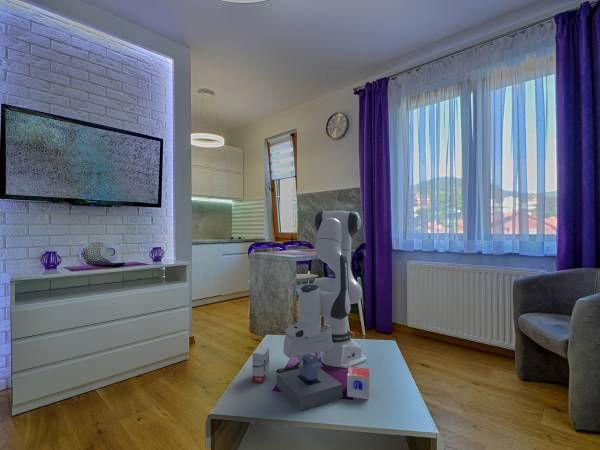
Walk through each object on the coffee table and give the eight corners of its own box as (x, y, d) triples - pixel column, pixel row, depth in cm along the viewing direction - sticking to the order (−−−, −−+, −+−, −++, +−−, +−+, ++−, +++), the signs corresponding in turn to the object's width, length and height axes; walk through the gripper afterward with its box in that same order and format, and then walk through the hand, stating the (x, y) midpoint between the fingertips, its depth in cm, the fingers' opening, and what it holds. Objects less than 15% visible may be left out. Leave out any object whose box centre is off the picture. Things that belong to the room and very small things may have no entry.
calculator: (276, 371, 138) (276, 364, 138) (301, 367, 142) (301, 360, 142) (283, 380, 129) (283, 373, 129) (309, 376, 133) (309, 369, 133)
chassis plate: (315, 376, 132) (315, 364, 132) (342, 398, 116) (342, 384, 116) (276, 386, 124) (276, 373, 124) (299, 411, 107) (299, 396, 107)
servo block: (304, 367, 126) (304, 348, 126) (322, 381, 115) (322, 360, 115) (295, 369, 124) (296, 350, 124) (312, 383, 113) (313, 362, 113)
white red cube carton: (369, 389, 123) (369, 368, 123) (368, 399, 115) (368, 377, 115) (348, 386, 125) (348, 366, 125) (346, 396, 117) (346, 375, 117)
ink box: (263, 383, 126) (263, 354, 126) (251, 382, 127) (252, 353, 127) (269, 374, 134) (269, 346, 134) (258, 372, 135) (259, 345, 135)
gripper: (327, 322, 128) (326, 356, 127) (281, 329, 118) (281, 366, 118) (336, 326, 122) (335, 362, 122) (289, 334, 112) (288, 373, 112)
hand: (308, 364), depth 120 cm, fingers closed on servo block, 4 cm apart
